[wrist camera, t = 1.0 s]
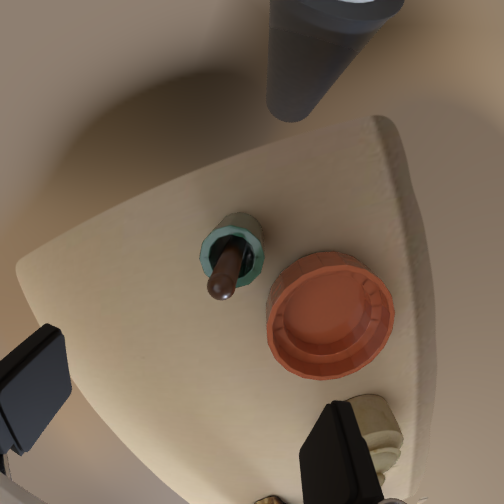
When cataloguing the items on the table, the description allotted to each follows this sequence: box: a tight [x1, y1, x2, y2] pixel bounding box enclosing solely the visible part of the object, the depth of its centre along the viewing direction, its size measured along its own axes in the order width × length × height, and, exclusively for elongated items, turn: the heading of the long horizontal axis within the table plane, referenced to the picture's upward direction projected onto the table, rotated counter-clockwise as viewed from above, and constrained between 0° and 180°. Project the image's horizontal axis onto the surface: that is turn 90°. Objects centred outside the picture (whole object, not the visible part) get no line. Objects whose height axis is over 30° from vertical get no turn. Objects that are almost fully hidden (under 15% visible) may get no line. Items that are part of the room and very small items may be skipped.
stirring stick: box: [207, 235, 247, 300], centre depth 25 cm, size 2×2×16 cm
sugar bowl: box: [347, 395, 404, 486], centre depth 33 cm, size 15×11×15 cm
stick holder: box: [199, 212, 265, 288], centre depth 29 cm, size 5×5×9 cm
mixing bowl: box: [266, 251, 395, 380], centre depth 32 cm, size 14×14×6 cm
